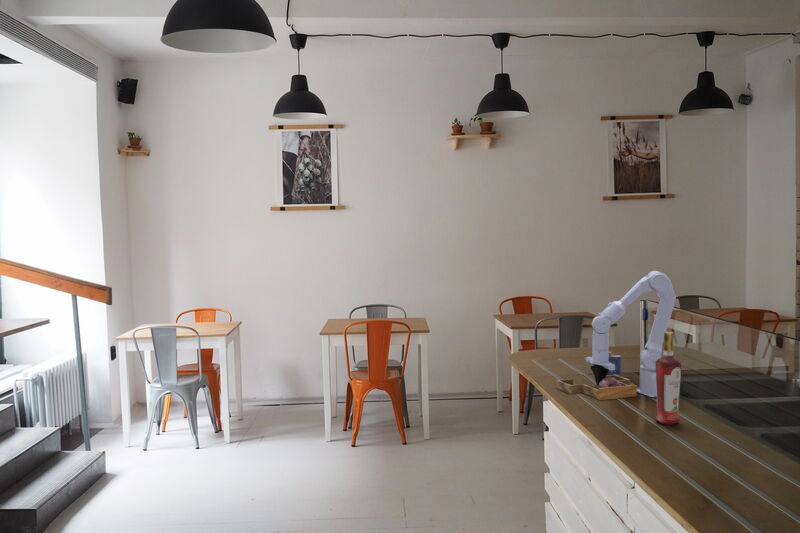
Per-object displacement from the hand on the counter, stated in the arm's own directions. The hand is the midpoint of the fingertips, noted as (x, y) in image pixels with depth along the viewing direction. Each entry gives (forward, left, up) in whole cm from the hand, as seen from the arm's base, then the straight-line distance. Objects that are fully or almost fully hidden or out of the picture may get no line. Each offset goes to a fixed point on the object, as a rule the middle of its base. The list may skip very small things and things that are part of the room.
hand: (600, 385), depth 231 cm
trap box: (-1, 0, -2) cm, 2 cm away
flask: (+15, -15, -2) cm, 22 cm away
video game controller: (-5, -1, -2) cm, 6 cm away
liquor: (-39, +3, -2) cm, 39 cm away
